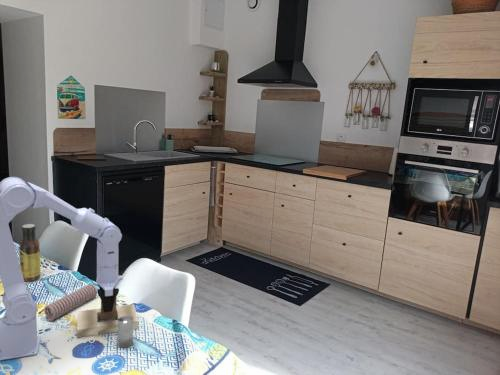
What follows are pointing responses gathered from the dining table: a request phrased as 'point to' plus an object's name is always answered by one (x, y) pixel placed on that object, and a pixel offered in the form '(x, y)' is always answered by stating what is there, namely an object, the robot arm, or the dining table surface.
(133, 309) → the socket board
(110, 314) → the square peg
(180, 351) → the dining table surface
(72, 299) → the coil
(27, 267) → the sauce bottle
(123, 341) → the clear glass
